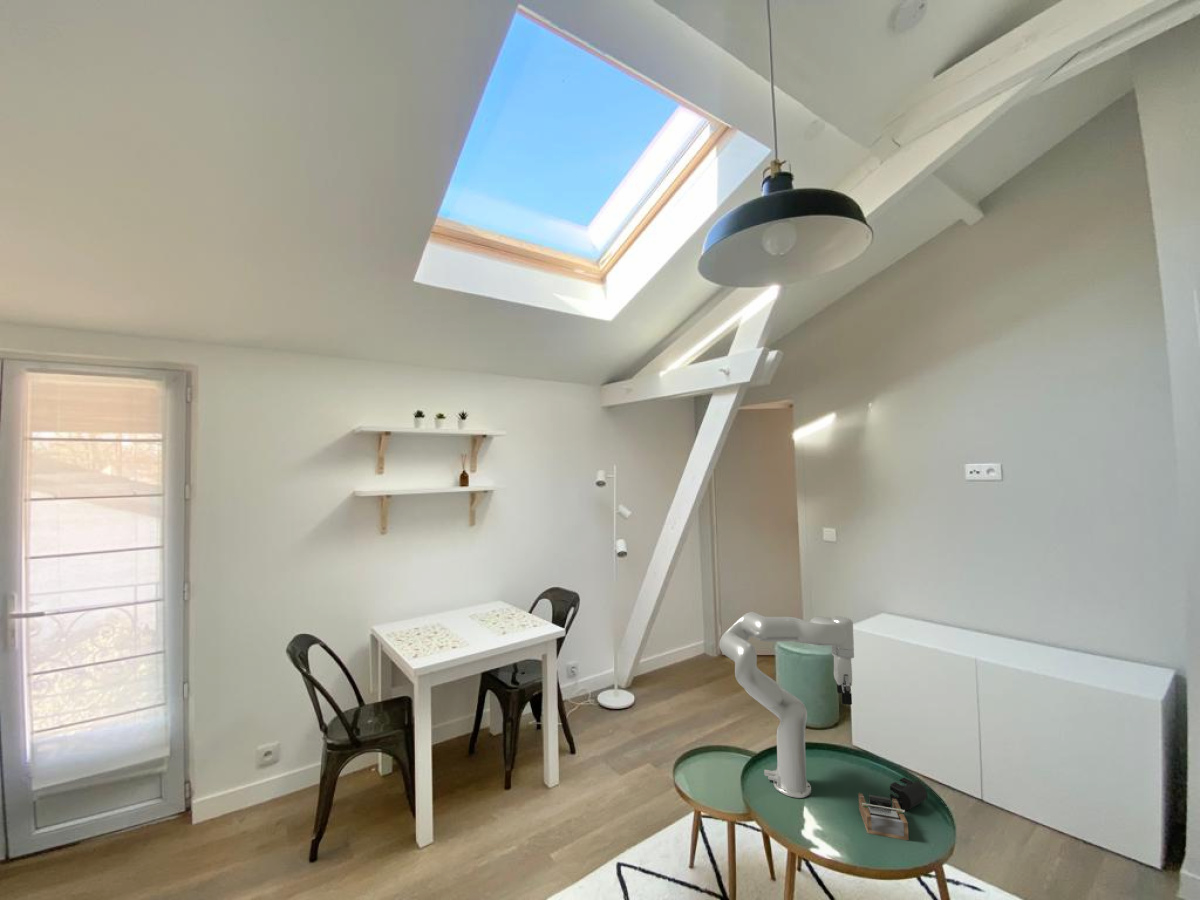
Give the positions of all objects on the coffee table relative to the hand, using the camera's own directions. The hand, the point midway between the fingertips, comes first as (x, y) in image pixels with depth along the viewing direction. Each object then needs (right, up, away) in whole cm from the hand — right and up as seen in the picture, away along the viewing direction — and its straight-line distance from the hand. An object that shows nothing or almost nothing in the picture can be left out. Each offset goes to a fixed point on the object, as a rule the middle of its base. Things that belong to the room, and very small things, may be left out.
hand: (844, 698), depth 183 cm
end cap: (+13, -28, -17) cm, 35 cm away
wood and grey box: (-1, -27, -27) cm, 38 cm away
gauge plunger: (-1, -25, -26) cm, 36 cm away
